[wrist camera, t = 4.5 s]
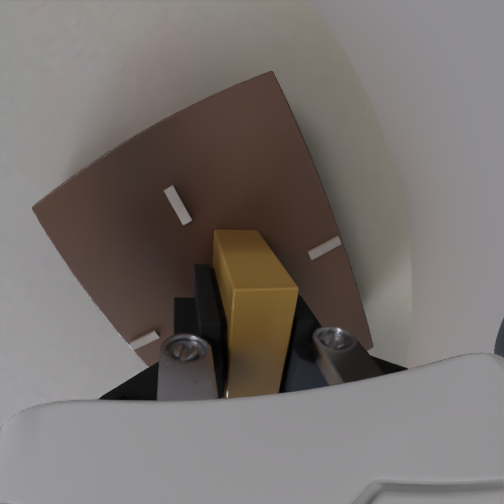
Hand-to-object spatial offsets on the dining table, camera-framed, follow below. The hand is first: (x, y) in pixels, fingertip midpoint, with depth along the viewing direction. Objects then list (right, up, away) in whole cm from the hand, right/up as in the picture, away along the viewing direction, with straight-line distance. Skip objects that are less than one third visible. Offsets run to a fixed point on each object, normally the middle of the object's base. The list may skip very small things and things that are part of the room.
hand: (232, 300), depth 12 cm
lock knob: (0, 0, 0) cm, 0 cm away
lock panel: (-1, +1, +3) cm, 3 cm away
